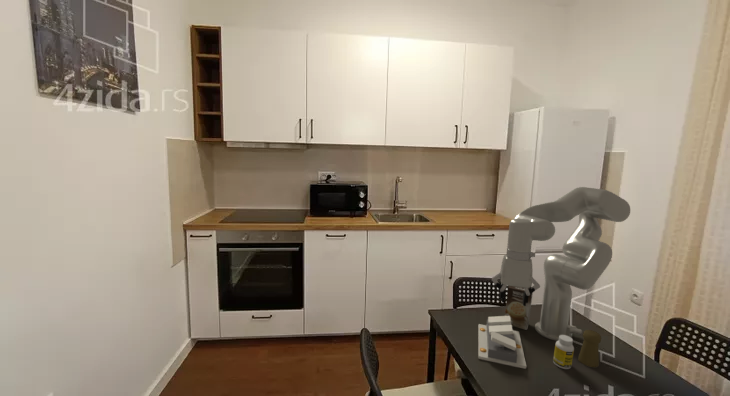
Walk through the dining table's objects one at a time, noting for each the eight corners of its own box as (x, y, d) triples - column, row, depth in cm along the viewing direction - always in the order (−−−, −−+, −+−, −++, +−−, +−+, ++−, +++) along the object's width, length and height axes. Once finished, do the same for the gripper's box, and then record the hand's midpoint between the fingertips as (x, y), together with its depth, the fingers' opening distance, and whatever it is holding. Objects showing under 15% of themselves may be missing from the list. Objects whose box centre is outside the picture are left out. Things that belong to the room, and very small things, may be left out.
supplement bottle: (565, 371, 109) (568, 344, 107) (549, 361, 114) (552, 335, 112) (574, 366, 112) (578, 340, 110) (559, 357, 116) (562, 331, 115)
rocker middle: (512, 329, 122) (511, 324, 122) (513, 336, 118) (512, 330, 118) (489, 330, 125) (488, 325, 125) (490, 336, 121) (489, 331, 121)
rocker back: (510, 320, 129) (509, 315, 129) (511, 326, 125) (510, 321, 125) (489, 321, 132) (488, 316, 132) (489, 327, 128) (488, 322, 127)
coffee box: (503, 323, 138) (506, 287, 135) (505, 317, 143) (509, 281, 140) (527, 330, 133) (531, 293, 130) (529, 323, 138) (533, 287, 136)
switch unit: (518, 333, 130) (519, 323, 130) (526, 368, 110) (527, 356, 109) (478, 326, 135) (479, 316, 134) (478, 358, 115) (479, 346, 114)
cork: (602, 368, 111) (607, 338, 109) (582, 365, 112) (586, 335, 110) (593, 357, 117) (598, 328, 115) (574, 354, 118) (579, 326, 116)
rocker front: (513, 345, 116) (515, 340, 116) (514, 352, 112) (516, 347, 112) (490, 335, 118) (491, 330, 118) (490, 342, 114) (492, 337, 114)
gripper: (543, 254, 117) (538, 302, 120) (491, 248, 122) (487, 294, 125) (548, 261, 110) (542, 312, 113) (492, 254, 115) (487, 303, 118)
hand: (513, 302), depth 119 cm, fingers open, 6 cm apart
